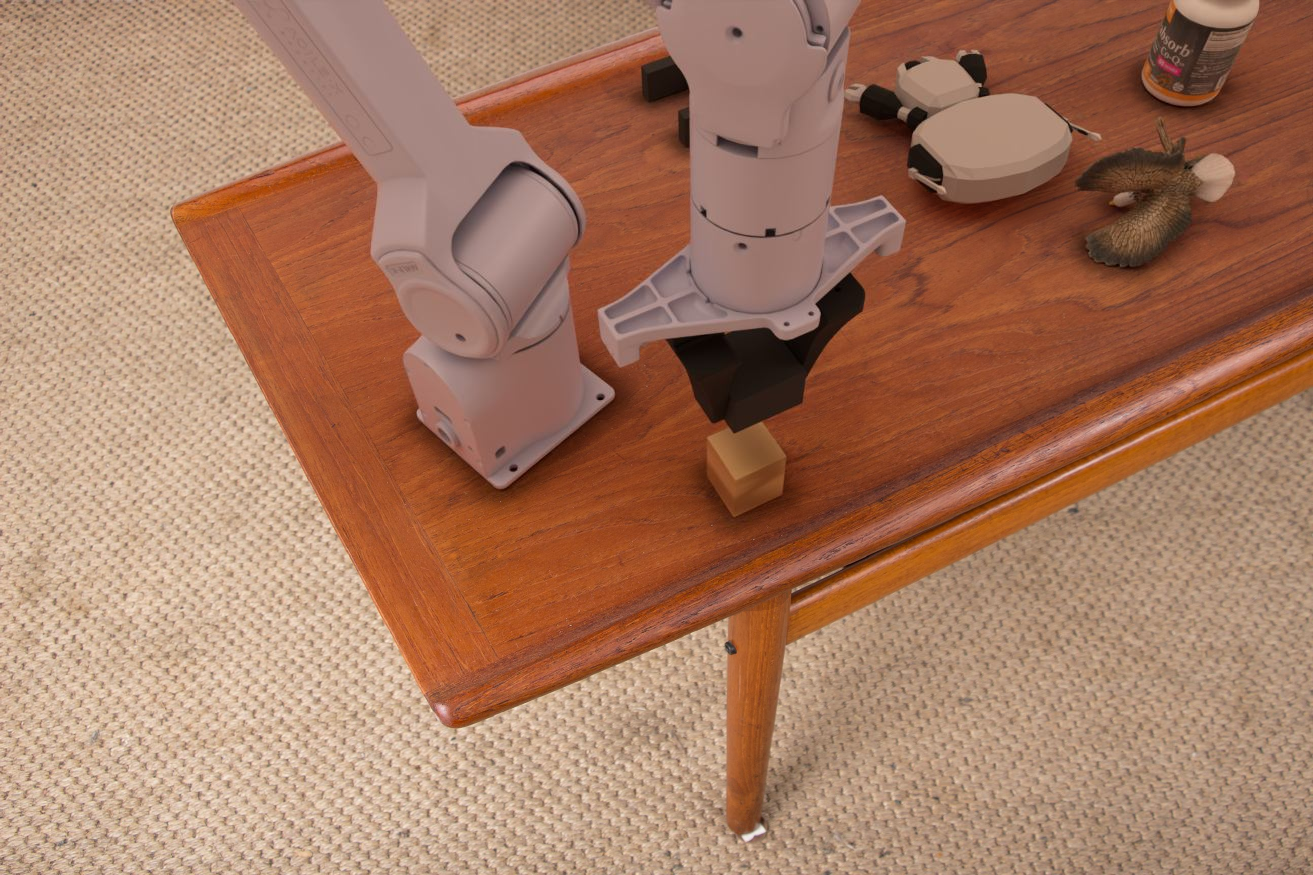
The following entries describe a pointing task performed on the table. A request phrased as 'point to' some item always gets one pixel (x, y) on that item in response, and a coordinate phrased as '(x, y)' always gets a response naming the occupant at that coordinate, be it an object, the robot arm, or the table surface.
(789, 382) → the small pad
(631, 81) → the table surface
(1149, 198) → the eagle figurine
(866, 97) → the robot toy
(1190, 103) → the pill bottle
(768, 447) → the cube
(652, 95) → the base pad
